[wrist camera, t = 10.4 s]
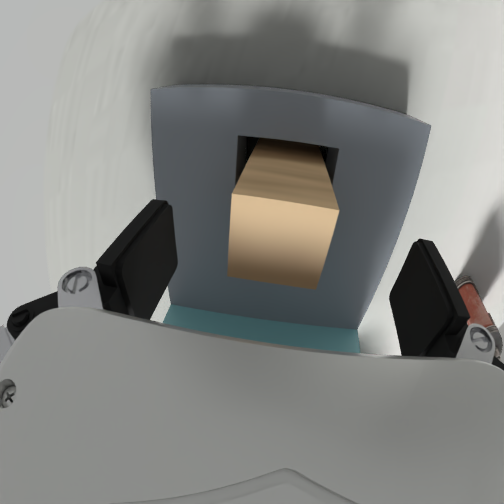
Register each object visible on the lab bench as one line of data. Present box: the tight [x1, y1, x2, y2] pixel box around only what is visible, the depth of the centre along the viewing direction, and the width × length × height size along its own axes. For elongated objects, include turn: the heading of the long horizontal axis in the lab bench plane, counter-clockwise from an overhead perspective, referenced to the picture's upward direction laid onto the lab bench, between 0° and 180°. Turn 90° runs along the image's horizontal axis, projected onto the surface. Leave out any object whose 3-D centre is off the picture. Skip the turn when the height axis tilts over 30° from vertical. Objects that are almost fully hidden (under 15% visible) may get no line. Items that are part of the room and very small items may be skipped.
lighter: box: [455, 276, 503, 360], centre depth 20 cm, size 8×3×10 cm, turn 41°
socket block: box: [151, 84, 431, 353], centre depth 15 cm, size 18×17×16 cm
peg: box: [227, 137, 339, 290], centre depth 15 cm, size 4×4×10 cm
